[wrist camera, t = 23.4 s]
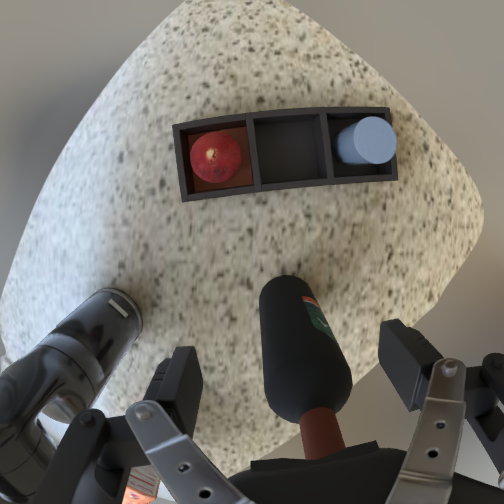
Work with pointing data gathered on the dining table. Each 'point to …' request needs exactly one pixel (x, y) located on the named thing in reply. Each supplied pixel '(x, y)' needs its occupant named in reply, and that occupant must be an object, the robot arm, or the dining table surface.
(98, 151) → the dining table surface
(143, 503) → the cracker box
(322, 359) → the wine bottle
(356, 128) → the light blue cylinder
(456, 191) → the dining table surface
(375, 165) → the holder
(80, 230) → the dining table surface
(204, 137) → the onion
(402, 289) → the dining table surface
